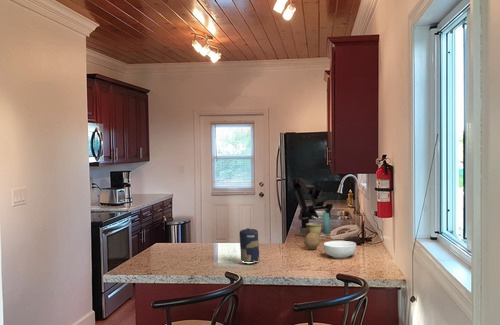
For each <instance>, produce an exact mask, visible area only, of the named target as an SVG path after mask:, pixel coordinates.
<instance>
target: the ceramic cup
mask: <svg viewBox="0 0 500 325" xmlns="http://www.w3.org/2000/svg"><path fill="white" fill-rule="evenodd" d="M322 225H323V223H321V222H309V223H307V224H306V227H307V231H308V234H309V233H311V232H314V233H316V234H317V235H318V236H319V238H320V239H321V234H322V232H321V231H322Z"/></svg>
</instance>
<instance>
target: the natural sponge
mask: <svg viewBox="0 0 500 325" xmlns="http://www.w3.org/2000/svg"><path fill="white" fill-rule="evenodd" d="M320 243H321V237H320V238H319V236H318V235H317V234H316V233H314V232H311V233H309V234H307V236H305V238H304V240H303V245H304V246H305V247H306V248H308V249H309V250H312V251H314V250H315V249H317V247H319V245H321V244H320Z"/></svg>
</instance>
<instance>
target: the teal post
mask: <svg viewBox="0 0 500 325" xmlns="http://www.w3.org/2000/svg"><path fill="white" fill-rule="evenodd" d="M322 215H323V218H322V219H323V233H324V235H330V234H331V227H330V226H331V225H330V224H331V223H330V221H331V220H330V217H329V213H326V212H323V213H322Z"/></svg>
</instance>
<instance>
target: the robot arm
mask: <svg viewBox="0 0 500 325" xmlns="http://www.w3.org/2000/svg"><path fill="white" fill-rule="evenodd" d="M289 186H290V188H291V190H292V191H293V192H294V193H295V196H296V199H297V202H298V206H299V207H300V209H299V214H298V218H297V219H298V221H301V222H300V223H301V226H299V228H300V229H302V228H307V227H306V224H307V223H310V220H312V216H313V217H315V219H316V218H317V219H319V218H320V217H319V215H318V213H317V210H318V211H321V210H324V211H325V213H329V218H331V211H332V209H333V207H334V204H332V202H331V203H330V202H329V203H326V204H325V202H326V201H328V198H327V196H326V195H325V196H321V197H319V196H320V195H321V194H322V191H323V187H322V186H321V185H319V184H318V183H315V184H314V185H313V184H310V183H308V182H307V181H306V180H305V179H304V177H297V178H296V179H293V180H291V181H290V182H289ZM302 189H304V193H305V195H307V196H308V195H309V197H308V200H309V201H311V203H312V204H309V205H307V204H306V200H305V198H304V195H303V191H302Z"/></svg>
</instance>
